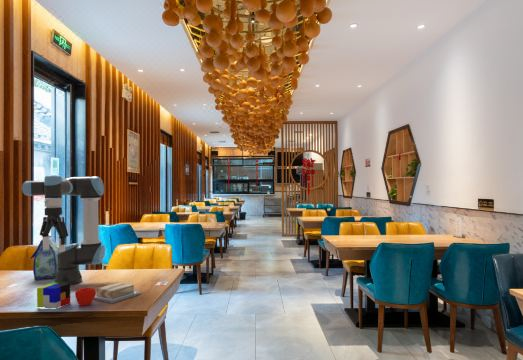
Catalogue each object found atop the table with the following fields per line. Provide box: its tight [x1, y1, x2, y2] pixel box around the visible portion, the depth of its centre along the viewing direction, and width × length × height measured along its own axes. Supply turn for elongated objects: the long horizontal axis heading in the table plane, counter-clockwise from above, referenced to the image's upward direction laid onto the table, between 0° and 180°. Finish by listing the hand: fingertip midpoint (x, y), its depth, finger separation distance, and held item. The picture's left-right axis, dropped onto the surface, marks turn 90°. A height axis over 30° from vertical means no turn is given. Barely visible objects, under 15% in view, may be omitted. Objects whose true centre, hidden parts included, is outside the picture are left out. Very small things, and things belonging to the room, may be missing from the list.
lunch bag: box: [30, 235, 59, 281], centre depth 250 cm, size 22×17×26 cm
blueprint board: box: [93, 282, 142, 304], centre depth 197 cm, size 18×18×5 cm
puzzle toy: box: [36, 282, 71, 308], centre depth 183 cm, size 10×10×10 cm
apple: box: [74, 287, 97, 307], centre depth 183 cm, size 9×9×8 cm
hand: (53, 250), depth 183 cm, fingers open, 13 cm apart
